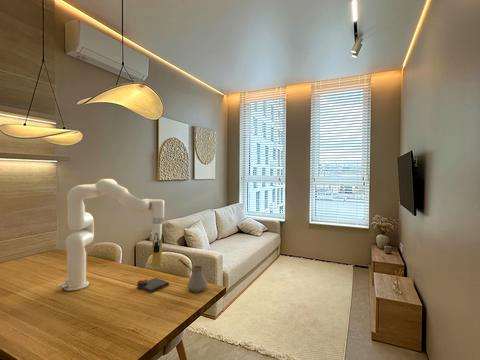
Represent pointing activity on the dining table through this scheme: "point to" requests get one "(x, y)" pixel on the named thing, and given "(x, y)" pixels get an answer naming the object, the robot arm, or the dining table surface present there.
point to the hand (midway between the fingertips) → (157, 250)
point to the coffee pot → (196, 278)
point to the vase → (157, 256)
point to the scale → (152, 285)
